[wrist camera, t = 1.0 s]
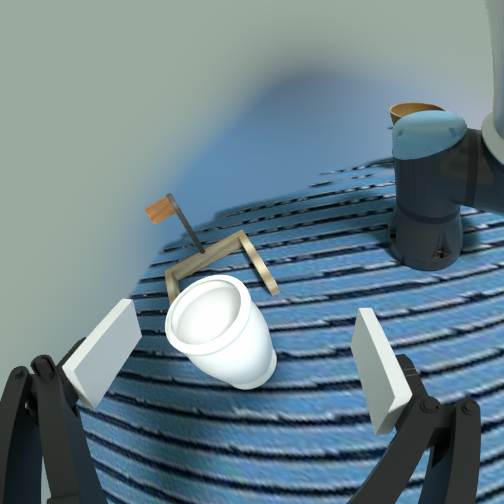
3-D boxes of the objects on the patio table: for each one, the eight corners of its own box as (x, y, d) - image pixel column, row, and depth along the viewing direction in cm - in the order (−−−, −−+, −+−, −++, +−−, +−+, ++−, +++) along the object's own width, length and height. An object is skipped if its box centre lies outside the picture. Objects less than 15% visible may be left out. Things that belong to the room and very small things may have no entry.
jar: (254, 409, 34) (203, 371, 24) (205, 374, 40) (149, 325, 31) (298, 351, 38) (269, 290, 29) (246, 324, 45) (206, 263, 35)
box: (280, 292, 48) (243, 208, 36) (184, 341, 47) (120, 275, 35) (247, 239, 61) (213, 169, 50) (171, 279, 60) (125, 218, 48)
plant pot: (443, 189, 51) (443, 124, 41) (387, 175, 61) (380, 115, 51) (452, 162, 56) (452, 106, 46) (405, 151, 66) (399, 99, 56)
